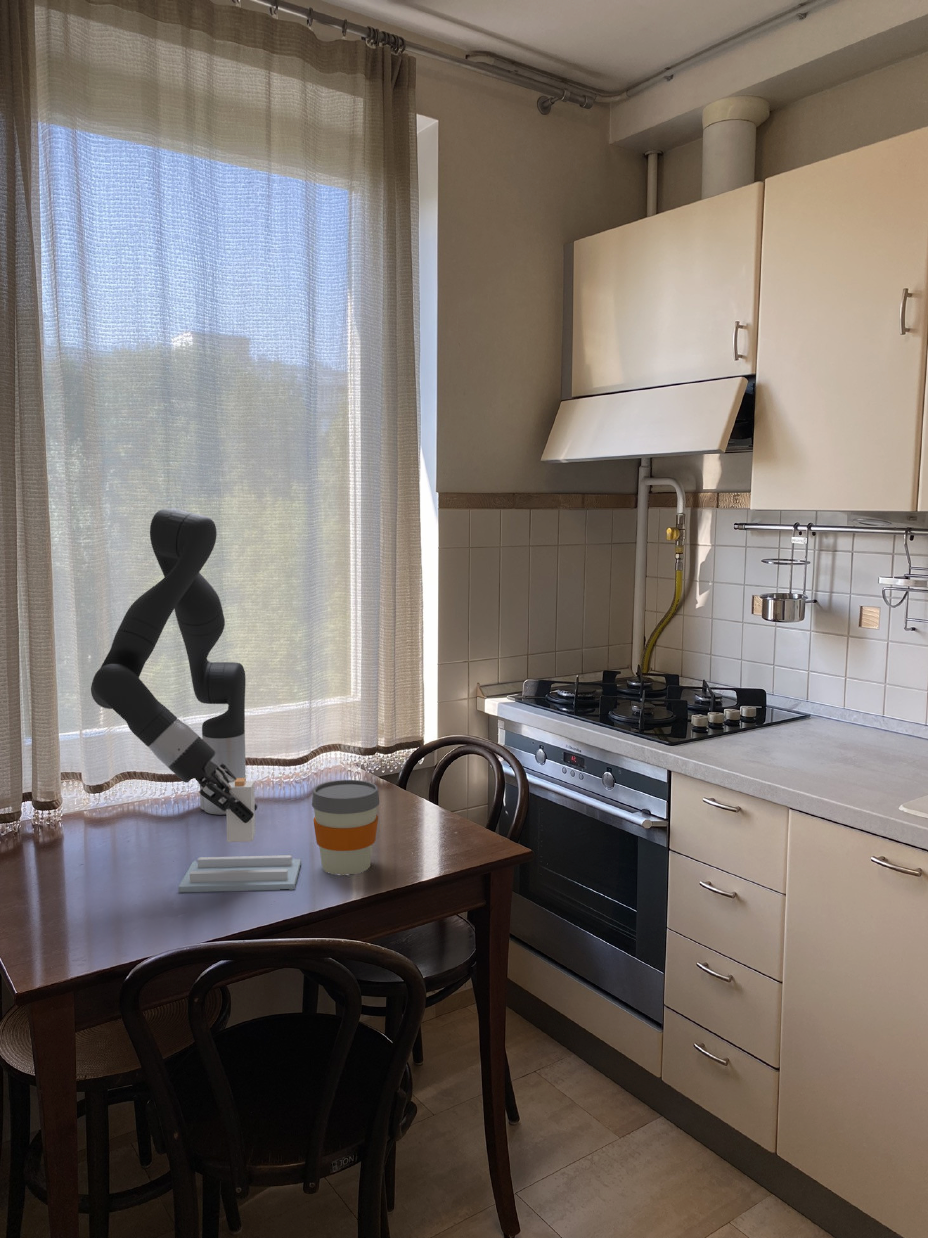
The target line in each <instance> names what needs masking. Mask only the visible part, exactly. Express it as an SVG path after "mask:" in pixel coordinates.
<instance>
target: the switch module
mask: <svg viewBox="0 0 928 1238" xmlns="http://www.w3.org/2000/svg"><path fill="white" fill-rule="evenodd" d="M246 779H247V777H246V778H237V779H236V780H235V781H234V782H229V783H228V784H229V785H230V786H231V792H232V793H233V794H234V795H235V796H236V797H237V798H238V799H239V801H241V802H242V803H243V804H244V805H245V806H246V807H247V808H248V809H250V810H251V811H252V812H253V813H254V816H253V817H252V818H251V819H250V820H249V821H248V822H247V823H244V822H243V821H242V820H241V819H239V818H238V817H237V816H236V815H235V814H234V813H233V812H232V811H231V809H230V810H226V814H225V815H226V843H244V842H245V843H247V842H248V843H250V842H253V840H254V838H255V835H256V810H255V804H256V801H255V800H256V799H255V796H256V795H255V792H256V791H255V790H256V789H255V780H246ZM239 801H238V802H239Z"/></svg>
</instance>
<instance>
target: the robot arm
mask: <svg viewBox="0 0 928 1238" xmlns="http://www.w3.org/2000/svg"><path fill="white" fill-rule="evenodd" d="M216 526H217V525H216V524H215V522H214V520H213V519H212V518H211V517H208V516H206V515H203V514H199V513H198V514H197V513H195V512H189V511H185V510H181V509H176V508H168V507H167V508H162V509H159V510H157V512H155V514H153V517H152V519H151V522H150V526H149V527H150V528H149V539H150V543H151V548H152V550H153V554H154V555H155V558H156V560H157V563H158V565H159V567H160V569H161V572H162V574H163V576H164V577H163V578H162V579H161V580H160V581H158V582H157V583H156V584H155V585H153V586H152V587H150V589H148V590H147V591H146V592H144V593H143V594H141V595H140V596H139V597H138V598H137V599H136V600H135V601H134V602H133V603H131V605H130V606H129V607H128V609H127V611H126V613H125V614H124V616H123V619H122V621H121V622H120V625H119V627H118V628H117V631H116V633H115V635H114V637H113V641H112V643H111V648H110V650H109V652H108V653H107V655H106V657H105V659H104V660H103V662H102V664H101V666H100V668H99V669H98V670H97V671H96V672H95V674H94V676H93V679H92V683H91V686H90V694H91V698H92V700H94V702H95V703H96V705H98V706H100V707H102V708H104V709H108V710H113V711H114V712H115V713H116V714H118V716H119V717H121V718H122V719H123V721H124V722H125V723H126V724H127V727H128V728H129V730H130V732H132V733H133V734H134V735H135V737H137V738H138V739H139V740H140V741H141V742H142V743H143V744H144V745H145V746H147V748H149V749H150V751H151V752H152V753H153V755H154V756H155V757H156V758H157V759H159V761H161V762H162V763H163V764H164V766H166V767H167V768H168V769H169V771H171V772H173V774H174V775H176V776H177V777H178V778H179V779H180V780H181V781H182V782H183V783H189V782H191V780H192V779H194V780H195V781H196V782H197V783H198V784H199V798H200V799H199V803H200V806H199V807H200V810H203V811H204V812H205V813H207V814H211V815H227V814H226V810H230V809H231V811H232V812H233V813H234V814H235V815H236V816H237V817H238V818H239V819H241V820H242V821H243V822H244V823H247V822H248V821H249V820H250V819H251V818H252V817H253V816H254V813H253V812H252V811H251V810H250V809H248V808H247V807H246V806H245V805H244V804H243V803H242V802H241V801H239V799H238V798H237V797H236V796H235V795H234V794H233V793H232V792H231V786H230V785H229V784H228V783H229V782H234V781H235V780H236V779H237V778H246V779H247V775H246V773H247V771H246V768H247V766H246V734H245V732H246V729H245V725H246V724H245V723H246V722H245V721H246V720H245V719H246V717H245V716H246V715H245V714H246V712H245V711H246V710H245V707H246V706H245V705H246V680H247V679H246V672H245V667H244V665H243V663H240V662H232V661H231V662H224V661H223V662H222V661H219V662H217V661H216V662H215V661H214V662H212V661H209V660H208V657H209V654H210V653H211V650H212V649H213V648H214V646H215V645H216V644H217V642H218V641H219V639H220V638H221V636H222V635H223V632H224V629H225V627H226V626H225V624H226V622H225V616H224V611H223V607H222V602H221V598H220V597H219V594H218V593H217V591H216V590H215V589H214V587H213V586H212V585H211V584H210V582H209V581H208V580H207V579H206V578H205V577H204V576H203V575H202V574H201V573H200V572H201V570H202V569H203V567H204V566H205V564H206V562H208V560H209V558H210V556H211V554H212V552H213V550H214V549H215V545H216V541H217V534H218V533H217V528H216ZM173 612H174V613H175V618H176V621H177V624H178V628H179V630H180V634H181V637H182V640H183V643H184V648H185V651H186V655H187V659H188V664H189V670H190V676H191V677H190V678H191V683H192V688H193V692H194V695H195V698H196V700H197V701H198V702H199V703H202V704H206V705H207V704H208V705H227V706H228V707H227V710H226V711H225V712H223V713H221V714H219V715H216V716H214V717H211V718H208V719H206V720H204V721H203V723H202V724H201V736H202V737H201V736H200V735H198V734H197V732H195V731H194V730H193V729H192V728H191V727H189V725H187V724H186V723H185V722H183V721H182V720H180V719H179V718H178V717H177V716H176V715H175V714H174V713H173V712H172V711H171V710H169V708H167V707H166V706H165V705H164V704H163V703H161V702H160V701H159V700H158V699H157V698H156V697H155V696H154V694H153V693H152V692H151V690H150V689H149V688H148V687H147V686H146V684H145V683H144V682H143V681H142V680H141V679H140V676H141V674H142V671H143V668H144V666H145V665H146V662H147V661H148V659H149V658H150V656H151V654H152V653H153V651H154V649H155V647H156V646H157V643H158V640H159V639H160V637H161V634H162V632H163V630H164V628H165V626H166V624H167V622H168V620H169V619H170V617H171V615H172V613H173ZM238 801H239V802H238ZM257 810H258V804H256V803H255V811H257Z"/></svg>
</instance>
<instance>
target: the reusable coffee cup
mask: <svg viewBox="0 0 928 1238" xmlns="http://www.w3.org/2000/svg"><path fill="white" fill-rule="evenodd" d="M311 801H312V802H311V806H312V808H313V810H314V811H313V812H314V817H313V819H312V821H313V826H314V827H313V829H314V834H315V840H316V841H315V842H316V844H317V845H318V847H319V853H320V860H321V861H320V862H321V868H322V870H323V871H324V870H325V871H324V872H325V873H327V872H329V873H331V874H330V875H333V874H340V875H339V876H341V875H346V874H355V875H357V874H356V873H359V874H361V873H360V872H362V873H364V872H363V871H365V870H367V869H368V868H369V867H371V861H372V851H373V845H374V844H375V842H376V839H377V838H376V837H377V829H378V822H379V816H378V815H377V811H378V806H379V805H380V795H379V787H378V785H376V784H375V783H372V782H370V781H366V780H358V779H339V780H333V781H332V780H330V781H327V782H322V783H320V784H318V785H316V786H315V787H313V790H312V799H311ZM369 869H370V868H369ZM369 869H368V870H369ZM368 870H367V871H368ZM365 872H366V871H365ZM329 873H328V874H329Z"/></svg>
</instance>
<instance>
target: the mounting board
mask: <svg viewBox="0 0 928 1238" xmlns="http://www.w3.org/2000/svg"><path fill="white" fill-rule="evenodd" d="M292 857H293V856H292V855H288V854H287V855H249V856H247V855H244V856H243V855H242V856H241V855H240V856H210V857H209V856H207V857H206V856H203V857H201V856H199V857H198V858H197V861H196V860H195V861H194V860H193V861H192V863H191V865H190V866H189V868H188V869H187V871H186V874H185V875H184V877H183V878H182V880H181V882H180V883H179V886H178V893H203V892H212V893H213V892H240V891H241V892H242V891H243V892H245V891H246V892H247V891H248V892H249V891H278V890H279V891H281V890H280V889H289V890H295V889H294V888H296V885H295V884H297V881H298V878H299V872H300V870H299V869H301V866H300V865H302V859H301V858H292Z"/></svg>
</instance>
